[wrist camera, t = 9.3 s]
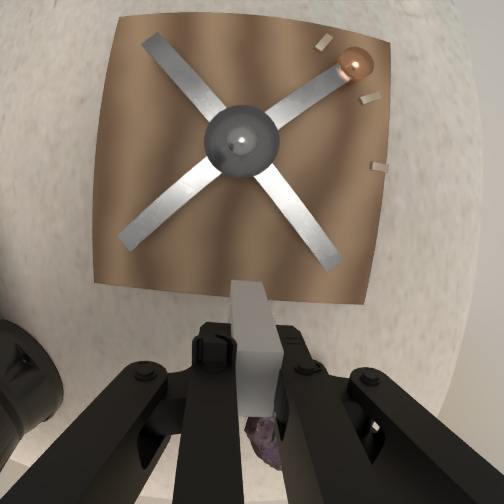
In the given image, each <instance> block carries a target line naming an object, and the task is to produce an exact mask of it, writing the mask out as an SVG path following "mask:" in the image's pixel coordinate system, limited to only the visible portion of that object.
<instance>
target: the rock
mask: <svg viewBox="0 0 504 504" xmlns="http://www.w3.org/2000/svg"><path fill="white" fill-rule="evenodd" d="M275 418H276V412H275V407H274V410H273V416H272V417H248V419H247V422H246V426H245V429H244V431H245V432H246V433H247V437H248V438H249V439H250V442H251V445H252V447H253V450H254V452H255V453H256V455H257V456H258V457H259V458H261V459H262V460H263V461H264V462H265V463H266V464H269V465H270V466H271V467H273V468H275V469H276V470H278V471H282V467H281V462H280V456H279V451H278V446H277V440H276V437H275V440H274V442H271V438H272V433H273V428H274V423H275Z"/></svg>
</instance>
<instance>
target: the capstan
mask: <svg viewBox="0 0 504 504" xmlns="http://www.w3.org/2000/svg"><path fill="white" fill-rule="evenodd" d="M141 45H142V47H143V48H144V49H145V50H146V52H147V53H148V54H149V55H150V56H151V57H152V58H153V59H154V60H155V62H156V63H157V64H158V65H159V66H160V67H161V68H162V69H163V70H164V72H165V73H166V74H167V75H168V76H169V77H170V78H171V79H172V81H173V82H174V83H175V84H176V85H177V86H178V87H179V89H180V90H181V91H182V92H183V93H184V94H185V95H186V97H187V98H188V99H189V100H190V101H191V102H192V104H193V105H194V106H195V107H196V108H197V109H198V111H199V112H200V113H201V114H202V115H203V116H204V118H205V119H206V120H207V121H208V122H209V124H208V126H207V128H206V131H205V135H204V148H205V152H206V155H207V157H206V158H204V159H203V160H202V161H201V162H200V163H198V164H197V165H196V166H195V167H193V168H192V169H191V170H190V171H189V172H187V173H186V174H185V175H184V176H183V177H182V178H180V179H179V180H178V181H177V182H176V183H175V184H173V185H172V186H171V187H170V188H169V189H168V190H167V191H165V192H164V193H163V194H162V195H161V196H160V197H159V198H157V199H156V200H155V201H154V202H153V203H152V204H151V205H150V206H149V207H148V208H146V209H145V210H144V211H143V212H142V213H141V214H140V215H139V216H138V217H137V218H136V219H135V220H133V221H132V222H131V223H130V224H129V225H128V226H127V227H126V228H125V229H124V230H123V231H122V232H121V233H120V234H119V235H118V238H119V239H120V240H121V241H122V242H123V244H124V245H125V246H126V247H127V249H128V250H129V251H130V252H131V251H132V250H133V249H135V248H136V247H137V246H138V245H140V244H141V243H142V242H143V241H144V240H145V239H146V238H147V237H148V236H149V235H151V234H152V233H153V232H154V231H155V230H156V229H157V228H158V227H160V226H161V225H162V224H163V223H164V222H165V221H166V220H168V219H169V218H170V217H171V216H172V215H173V214H174V213H176V212H177V211H178V210H179V209H180V208H181V207H183V206H184V205H185V204H186V203H187V202H189V201H190V200H191V199H192V198H193V197H194V196H196V195H197V194H198V193H199V192H200V191H202V190H203V189H204V188H205V187H207V186H208V185H209V184H210V183H211V182H213V181H214V180H215V179H216V178H218V177H219V176H220V175H221V174H225V175H227V176H230V177H235V178H249V177H254V178H255V180H256V181H257V182H258V183H259V185H260V186H261V187H262V188H263V190H264V191H265V192H266V193H267V195H268V196H269V197H270V198H271V200H272V201H273V202H274V204H275V205H276V206H277V207H278V209H279V210H280V211H281V213H282V214H283V215H284V216H285V218H286V219H287V220H288V222H289V223H290V224H291V226H292V227H293V228H294V229H295V231H296V232H297V233H298V235H299V236H300V237H301V239H302V240H303V241H304V243H305V244H306V245H307V247H308V248H309V249H310V251H311V252H312V253H313V255H314V256H315V257H316V259H317V260H318V261H319V263H320V264H321V265H322V267H323V268H324V269H325V270H326V271H327V272H328V271H330V270H331V269H332V268H333V267H335V266H336V265H337V264H339V263H340V262H341V261H342V260H344V259H343V258H342V256H341V255H340V254H339V252H338V251H337V249H336V248H335V247H334V245H333V244H332V242H331V241H330V239H329V238H328V237H327V235H326V234H325V233H324V231H323V230H322V228H321V227H320V226H319V224H318V223H317V221H316V220H315V219H314V217H313V216H312V215H311V213H310V212H309V211H308V209H307V208H306V207H305V205H304V204H303V203H302V201H301V200H300V199H299V197H298V196H297V195H296V193H295V192H294V191H293V189H292V188H291V187H290V185H289V184H288V183H287V182H286V180H285V179H284V178H283V176H282V175H281V174H280V173H279V171H278V170H277V169H276V167H275V166H274V165H273V164H272V163H273V161H274V160H275V158H276V156H277V154H278V151H279V145H280V138H279V132H278V131H279V130H280V129H281V128H283V127H284V126H285V125H287V124H288V123H290V122H291V121H292V120H294V119H295V118H296V117H298V116H299V115H301V114H302V113H304V112H305V111H306V110H308V109H309V108H311V107H312V106H314V105H315V104H316V103H318V102H319V101H321V100H322V99H324V98H325V97H327V96H328V95H330V94H331V93H333V92H334V91H336V90H337V89H339V88H340V87H342V86H343V85H345V84H349V85H354V84H357V83H359V82H360V81H361V80H363V79H364V78H366V77H367V76H369V75H370V74H371V73H372V72H373V70H374V61H373V58H372V57H371V55H370V54H369V53H368V52H367V51H366V50H364V49H362V48H359V47H350V48H348V49H346V50H345V51H344V52H343V53H342V54H341V56H340V57H339V58H338V59H337V60H336V61H335V63H334V66H333V67H331V68H329V69H328V70H326V71H325V72H323V73H322V74H320V75H318V76H317V77H315V78H314V79H312V80H311V81H309V82H308V83H306V84H305V85H303V86H302V87H300V88H299V89H297V90H296V91H294V92H293V93H291V94H290V95H288V96H287V97H286V98H284V99H283V100H281V101H280V102H278V103H277V104H276V105H274V106H273V107H271V108H270V109H268V110H267V111H266V112H263V111H262V110H260V109H258V108H256V107H252V106H248V105H236V106H231V107H228V108H226V107H225V105H224V104H223V103H222V102H221V101H220V100H219V98H218V97H217V96H216V95H215V94H214V93H213V92H212V90H211V89H210V88H209V87H208V86H207V85H206V84H205V83H204V81H203V80H202V79H201V78H200V77H199V76H198V75H197V74H196V73H195V71H194V70H193V69H192V68H191V67H190V66H189V65H188V64H187V63H186V62H185V61H184V59H183V58H182V57H181V56H180V55H179V54H178V53H177V52H176V51H175V50H174V49H173V48H172V47H171V46H170V45H169V43H168V42H167V41H166V40H165V39H164V38H163V37H162V36H161V35H160V34H159V33H158V32H156V33H155V34H154V35H152V36H151V37H150V38H148V39H147V40H146V41H145V42H143V43H142V44H141Z"/></svg>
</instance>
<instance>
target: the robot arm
mask: <svg viewBox="0 0 504 504" xmlns="http://www.w3.org/2000/svg"><path fill="white" fill-rule="evenodd" d="M62 400H63V388H62V383H61V380H60V377H59V374H58V372H57V370H56V368H55V366H54V364H53V363H52V361H51V359H50V358H49V356H48V355H47V354H46V352H45V351H44V350H43V348H42V347H41V346H40V345H39V344H38V343H37V342H36V341H35V340H34V339H33V338H32V337H31V336H30V335H29V334H28V333H27V332H25V331H24V330H23V329H21V328H20V327H18V326H17V325H15V324H13V323H11V322H8V321H5V320H0V472H1V471H2V469H3V467H4V466H5V464H6V462H7V461H8V459H9V457H10V456H11V454H12V453H13V451H14V449H15V448H16V446H17V445H18V443H19V442H20V440H21V439H22V437H23V436H24V434H26V433H27V432H29V431H30V430H32V429H33V428H35V427H36V426H37V425H38V424H40V423H41V422H45V421H47V420H49V419H50V418H51V417H52V416H53V415H54V414H55V413H56V411H57V410H58V408H59V407H60V405H61V403H62ZM274 407H275V412H276V418H275V423H274V428H273V433H272V438H271V442H274V440H275V437H276V440H277V446H278V451H279V456H280V462H281V467H282V472H283V478H284V483H285V488H286V493H287V499H288V503H289V504H504V475H503V474H502V473H500V472H499V471H498V470H497V469H496V468H494V467H493V466H492V465H491V464H490V463H489V462H487V461H486V460H485V459H484V458H483V457H481V456H480V455H479V454H478V453H477V452H476V451H474V450H473V449H472V448H471V447H469V445H467V444H466V443H465V442H464V441H463V440H462V439H460V438H459V437H458V436H457V435H456V434H455V433H453V432H452V431H451V430H450V429H449V428H448V427H446V426H445V425H444V424H443V423H442V422H441V421H439V420H438V419H437V418H436V417H435V416H434V415H432V414H431V413H430V412H429V411H428V410H427V409H425V408H424V407H423V406H422V405H421V404H420V403H418V402H417V401H416V400H415V399H414V398H413V397H411V396H410V395H409V394H408V393H407V392H406V391H404V390H403V389H402V388H401V387H400V386H399V385H397V384H396V383H395V382H394V381H393V380H392V379H390V378H389V377H388V376H387V375H386V374H384V373H383V372H381V371H379V370H377V369H374V368H369V367H363V368H357V369H355V370H353V371H352V372H351V374H350V378H343V377H336V376H332V375H329V374H328V372H327V370H326V368H325V367H324V366H323V364H321V363H319V362H318V361H316V360H313V359H312V357H311V355H310V353H309V350H308V348H307V346H306V345H305V341H304V339H303V337H302V335H301V332H300V331H299V330H297V329H296V328H295V327H294V326H287V325H275V322H274V319H273V316H272V312H271V309H270V306H269V303H268V300H267V296H266V293H265V290H264V287H263V283H262V282H254V281H239V280H231V292H230V304H229V317H228V323H215V322H206V323H205V324H203V325H202V326H201V327H200V332H199V335H198V336H196V337H194V339H193V341H192V366H191V367H190V368H188V369H186V370H184V371H180V372H175V373H167V371H166V369H165V368H164V367H163V366H162V365H160V364H158V363H155V362H151V361H138V362H134V363H131V364H129V365H128V366H127V367H125V368H124V369H123V370H122V371H121V372H120V373H119V374H118V376H117V377H116V378H115V379H114V380H113V381H112V382H111V383H110V384H109V385H108V386H107V387H106V388H105V389H104V390H103V391H102V392H101V393H100V394H99V395H98V396H97V397H96V398H95V399H94V401H93V402H92V403H91V404H90V405H89V406H88V407H87V408H86V409H85V410H84V411H83V412H82V413H81V414H80V415H79V416H78V417H77V418H76V419H75V420H74V421H73V423H72V424H71V425H70V426H69V427H68V428H67V429H66V430H65V431H64V432H63V433H62V434H61V435H60V436H59V437H58V438H57V439H56V440H55V441H54V443H53V444H52V445H51V446H50V447H49V448H48V449H47V450H46V451H45V452H44V453H43V454H42V455H41V456H40V457H39V458H38V460H37V461H36V462H35V463H34V464H33V465H32V466H31V467H30V468H29V469H28V470H27V471H26V472H25V473H24V475H23V476H22V477H21V478H20V479H19V480H18V481H17V482H16V483H15V484H14V485H13V486H12V487H11V489H10V490H9V491H8V492H7V493H6V494H5V495H4V496H3V497H2V498H1V499H0V504H134V503H135V501H136V499H137V498H138V496H139V494H140V492H141V491H142V489H143V487H144V485H145V484H146V482H147V480H148V478H149V476H150V475H151V473H152V471H153V469H154V468H155V466H156V464H157V462H158V460H159V459H160V457H161V455H162V453H163V452H164V450H165V448H166V446H167V444H168V443H169V441H170V438H171V435H174V434H181V438H180V446H179V453H178V460H177V468H176V476H175V484H174V492H173V501H172V504H244V493H243V480H242V466H241V452H240V437H239V421H238V416H243V417H272V416H273V410H274ZM374 421H375V422H376V423H377V424H378V425H379V427H380V428H379V430H378V431H376V430H375V429H374V428H373V427H372V425H373V423H374Z"/></svg>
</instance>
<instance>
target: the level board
mask: <svg viewBox="0 0 504 504" xmlns="http://www.w3.org/2000/svg"><path fill="white" fill-rule="evenodd" d="M156 32H158V33H159V34H160V35H161V36H162V37H163V38H164V39H165V40H166V41H167V42H168V43H169V45H170V46H171V47H172V48H173V49H174V50H175V51H176V52H177V53H178V54H179V55H180V56H181V57H182V58H183V59H184V61H185V62H186V63H187V64H188V65H189V66H190V67H191V68H192V69H193V70H194V71H195V73H196V74H197V75H198V76H199V77H200V78H201V79H202V80H203V81H204V83H205V84H206V85H207V86H208V87H209V88H210V89H211V90H212V92H213V93H214V94H215V95H216V96H217V97H218V98H219V100H220V101H221V102H222V103H223V104H224V105H225V107H226V108H228V107H231V106H236V105H248V106H252V107H256V108H258V109H260V110H262V111H263V112H266V111H267V110H268V109H270V108H271V107H273V106H274V105H276V104H277V103H278V102H280V101H281V100H283V99H284V98H286V97H287V96H288V95H290V94H291V93H293V92H294V91H296V90H297V89H299V88H300V87H302V86H303V85H305V84H306V83H308V82H309V81H311V80H312V79H314V78H315V77H317V76H318V75H320V74H322V73H323V72H325V71H326V70H328V69H329V68H331V67H333V66H334V63H335V61H336V60H337V59H338V58H339V57H340V56H341V54H342V53H343V52H344V51H345V50H346V49H348V48H350V47H359V48H362V49H364V50H366V51H367V52H368V53H369V54H370V55H371V57H372V58H373V61H374V70H373V72H372V73H371V74H370V75H369V76H367V77H366V78H364V79H363V80H361V81H360V82H359V83H357V84H354V85H349V84H345V85H343V86H342V87H340V88H339V89H337V90H336V91H334V92H333V93H331V94H330V95H328V96H327V97H325V98H324V99H322V100H321V101H319V102H318V103H316V104H315V105H314V106H312V107H311V108H309V109H308V110H306V111H305V112H304V113H302V114H301V115H299V116H298V117H296V118H295V119H294V120H292V121H291V122H290V123H288V124H287V125H285V126H284V127H283V128H281V129H280V130H279V131H278V132H279V138H280V145H279V151H278V154H277V156H276V158H275V160H274V161H273V163H272V164H273V165H274V166H275V167H276V169H277V170H278V171H279V173H280V174H281V175H282V176H283V178H284V179H285V180H286V182H287V183H288V184H289V185H290V187H291V188H292V189H293V191H294V192H295V193H296V195H297V196H298V197H299V199H300V200H301V201H302V203H303V204H304V205H305V207H306V208H307V209H308V211H309V212H310V213H311V215H312V216H313V217H314V219H315V220H316V221H317V223H318V224H319V226H320V227H321V228H322V230H323V231H324V233H325V234H326V235H327V237H328V238H329V239H330V241H331V242H332V244H333V245H334V247H335V248H336V249H337V251H338V252H339V254H340V255H341V256H342V258H343V259H344V260H342V261H341V262H340V263H339V264H337V265H336V266H335V267H333V268H332V269H331V270H330V271H328V272H327V271H326V270H325V269H324V268H323V267H322V265H321V264H320V263H319V261H318V260H317V259H316V257H315V256H314V255H313V253H312V252H311V251H310V249H309V248H308V247H307V245H306V244H305V243H304V241H303V240H302V239H301V237H300V236H299V235H298V233H297V232H296V231H295V229H294V228H293V227H292V226H291V224H290V223H289V222H288V220H287V219H286V218H285V216H284V215H283V214H282V213H281V211H280V210H279V209H278V207H277V206H276V205H275V204H274V202H273V201H272V200H271V198H270V197H269V196H268V195H267V193H266V192H265V191H264V190H263V188H262V187H261V186H260V185H259V183H258V182H257V181H256V180H255V178H254V177H249V178H235V177H230V176H227V175H225V174H221V175H220V176H219V177H218V178H216V179H215V180H214V181H213V182H211V183H210V184H209V185H208V186H207V187H205V188H204V189H203V190H202V191H200V192H199V193H198V194H197V195H196V196H194V197H193V198H192V199H191V200H190V201H189V202H187V203H186V204H185V205H184V206H183V207H181V208H180V209H179V210H178V211H177V212H176V213H174V214H173V215H172V216H171V217H170V218H169V219H168V220H166V221H165V222H164V223H163V224H162V225H161V226H160V227H158V228H157V229H156V230H155V231H154V232H153V233H152V234H151V235H149V236H148V237H147V238H146V239H145V240H144V241H143V242H142V243H141V244H140V245H138V246H137V247H136V248H135V249H133V250H132V251H131V252H130V251H129V250H128V249H127V247H126V246H125V245H124V244H123V242H122V241H121V240H120V239H119V238H118V235H119V234H120V233H121V232H122V231H123V230H124V229H125V228H126V227H127V226H128V225H129V224H130V223H131V222H132V221H133V220H135V219H136V218H137V217H138V216H139V215H140V214H141V213H142V212H143V211H144V210H145V209H146V208H148V207H149V206H150V205H151V204H152V203H153V202H154V201H155V200H156V199H157V198H159V197H160V196H161V195H162V194H163V193H164V192H165V191H167V190H168V189H169V188H170V187H171V186H172V185H173V184H175V183H176V182H177V181H178V180H179V179H180V178H182V177H183V176H184V175H185V174H186V173H187V172H189V171H190V170H191V169H192V168H193V167H195V166H196V165H197V164H198V163H200V162H201V161H202V160H203V159H204V158H206V157H207V155H206V152H205V148H204V135H205V131H206V128H207V126H208V124H209V122H208V121H207V120H206V119H205V118H204V116H203V115H202V114H201V113H200V112H199V111H198V109H197V108H196V107H195V106H194V105H193V104H192V102H191V101H190V100H189V99H188V98H187V97H186V95H185V94H184V93H183V92H182V91H181V90H180V89H179V87H178V86H177V85H176V84H175V83H174V82H173V81H172V79H171V78H170V77H169V76H168V75H167V74H166V73H165V72H164V70H163V69H162V68H161V67H160V66H159V65H158V64H157V63H156V62H155V60H154V59H153V58H152V57H151V56H150V55H149V54H148V53H147V52H146V50H145V49H144V48H143V47H142V45H141V44H142V43H143V42H145V41H146V40H147V39H148V38H150V37H151V36H152V35H154V34H155V33H156ZM390 86H391V52H390V43H389V42H386V41H383V40H379V39H376V38H373V37H369V36H366V35H362V34H358V33H354V32H351V31H346V30H342V29H338V28H334V27H329V26H324V25H319V24H314V23H309V22H303V21H297V20H291V19H284V18H277V17H268V16H259V15H248V14H234V13H210V12H183V13H159V14H145V15H134V16H125V17H119V20H118V24H117V28H116V32H115V36H114V40H113V44H112V49H111V53H110V58H109V63H108V68H107V73H106V79H105V84H104V90H103V96H102V103H101V110H100V117H99V126H98V134H97V144H96V155H95V169H94V186H93V269H94V283H101V284H109V285H117V286H125V287H134V288H143V289H152V290H161V291H171V292H181V293H191V294H202V295H213V296H225V297H230V292H231V280H239V281H254V282H262V283H263V287H264V290H265V293H266V296H267V300H279V301H296V302H314V303H334V304H359V305H364V301H365V297H366V292H367V287H368V282H369V277H370V272H371V267H372V262H373V256H374V250H375V244H376V238H377V232H378V226H379V219H380V212H381V204H382V197H383V188H384V179H385V173H388V169H389V165H386V159H387V147H388V134H389V116H390Z"/></svg>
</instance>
